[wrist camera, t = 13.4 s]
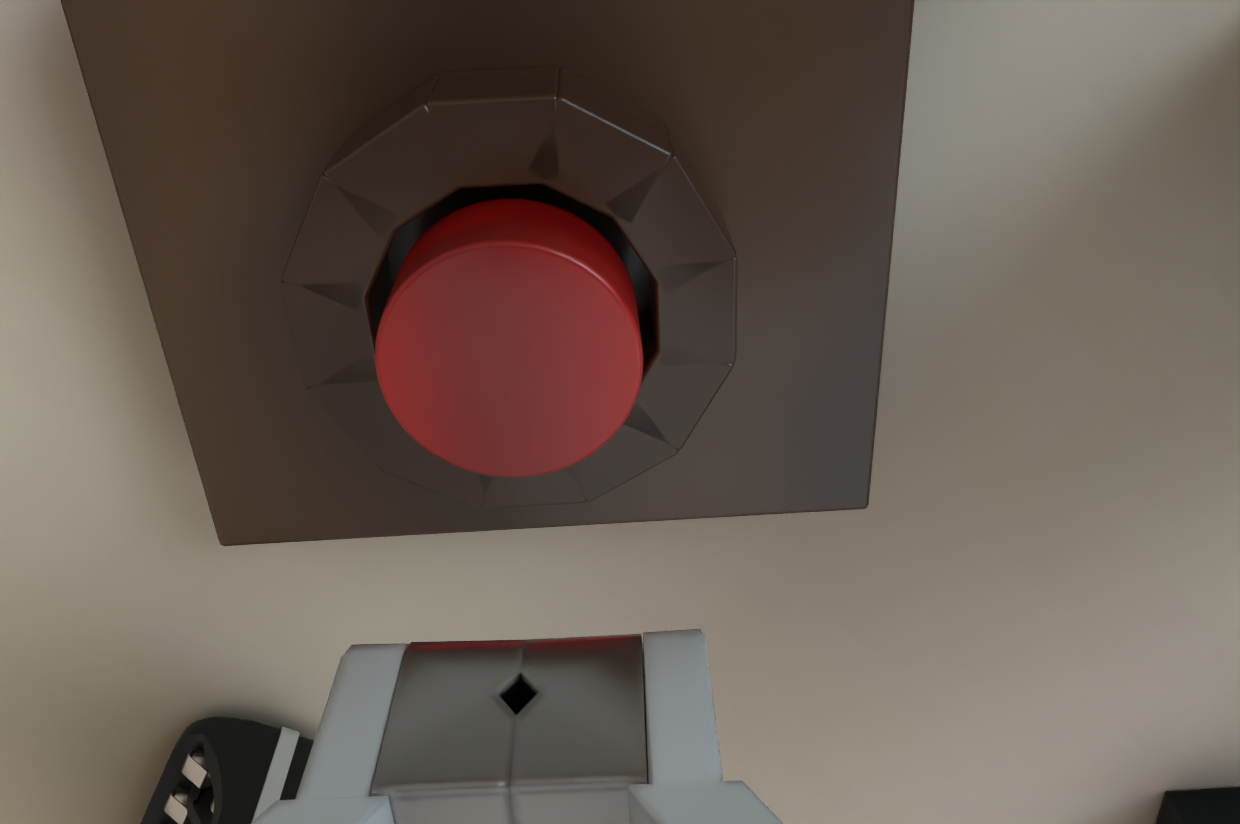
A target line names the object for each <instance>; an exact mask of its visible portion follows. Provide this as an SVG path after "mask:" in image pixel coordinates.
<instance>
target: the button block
mask: <svg viewBox="0 0 1240 824" xmlns="http://www.w3.org/2000/svg"><path fill="white" fill-rule="evenodd" d="M914 1H915V0H61V4H62V7H63V11H64V14H65V17H66V21H67V24H68V28H69V31H70V34H71V38H72V41H73V45H74V48H75V51H76V55H77V58H78V62H79V65H80V68H81V72H82V75H83V79H84V82H85V86H86V89H87V92H88V96H89V99H90V103H91V106H92V109H93V113H94V116H95V120H96V123H97V126H98V130H99V133H100V137H101V140H102V143H103V147H104V150H105V154H106V157H107V161H108V164H109V167H110V171H111V174H112V178H113V181H114V184H115V188H116V191H117V195H118V198H119V201H120V205H121V208H122V212H123V215H124V218H125V222H126V225H127V229H128V232H129V235H130V239H131V242H132V246H133V249H134V253H135V256H136V259H137V263H138V266H139V270H140V273H141V276H142V280H143V283H144V287H145V290H146V293H147V297H148V300H149V304H150V307H151V310H152V314H153V317H154V321H155V324H156V328H157V331H158V334H159V338H160V341H161V345H162V348H163V351H164V355H165V358H166V362H167V365H168V368H169V372H170V375H171V379H172V382H173V385H174V389H175V392H176V396H177V399H178V402H179V406H180V409H181V413H182V416H183V420H184V423H185V426H186V430H187V433H188V437H189V440H190V443H191V447H192V450H193V454H194V457H195V460H196V464H197V467H198V471H199V474H200V477H201V481H202V484H203V488H204V491H205V495H206V498H207V501H208V505H209V508H210V512H211V515H212V518H213V522H214V525H215V529H216V532H217V535H218V539H219V542H220V544H221V545H223V546H231V545H248V544H265V543H282V542H300V541H317V540H334V539H352V538H369V537H386V536H403V535H421V534H438V533H455V532H473V531H490V530H507V529H524V528H542V527H559V526H576V525H593V524H611V523H628V522H645V521H663V520H680V519H697V518H714V517H732V516H749V515H766V514H784V513H801V512H818V511H835V510H853V509H865V508H867V507H868V504H869V493H870V482H871V471H872V460H873V449H874V438H875V427H876V417H877V406H878V395H879V384H880V373H881V362H882V351H883V340H884V329H885V318H886V307H887V296H888V285H889V274H890V263H891V253H892V242H893V231H894V220H895V209H896V198H897V187H898V176H899V165H900V154H901V143H902V132H903V121H904V110H905V99H906V88H907V78H908V67H909V56H910V45H911V34H912V23H913V12H914ZM496 199H526V200H534V201H539V202H543V203H547V204H551V205H554V206H557V207H559V208H562V209H564V210H566V211H569V212H571V213H573V214H574V215H576V216H578V217H580V218H581V219H583V220H585V221H586V222H587V223H589V224H590V225H591V226H593V227H594V228H595V229H597V230H598V231H599V232H600V233H601V234H602V235H603V236H604V237H605V238H606V239H607V240H608V241H609V242H610V243H611V245H612V246H613V247H614V248H615V250H616V251H617V252H618V254H619V255H620V257H621V259H622V260H623V262H624V264H625V265H626V267H627V270H628V272H629V275H630V277H631V279H632V283H633V286H634V290H635V294H636V301H637V309H638V317H639V325H640V333H641V341H642V350H643V375H642V381H641V386H640V390H639V393H638V396H637V399H636V402H635V404H634V406H633V408H632V410H631V412H630V414H629V416H628V418H627V419H626V420H625V422H624V423H623V425H622V426H621V428H620V429H619V430H618V431H617V432H616V433H615V435H614V436H613V437H612V438H611V439H610V440H609V441H608V442H607V443H606V444H605V445H603V446H602V447H601V448H600V449H599V450H597V451H596V452H595V453H593V454H592V455H590V456H589V457H587V458H586V459H584V460H582V461H580V462H578V463H576V464H574V465H572V466H570V467H568V468H565V469H562V470H559V471H556V472H553V473H549V474H544V475H540V476H533V477H525V478H502V477H493V476H486V475H482V474H477V473H473V472H470V471H467V470H464V469H461V468H458V467H456V466H454V465H451V464H449V463H447V462H445V461H443V460H441V459H440V458H438V457H436V456H435V455H433V454H431V453H430V452H428V451H427V450H426V449H424V448H423V447H422V446H421V445H419V444H418V443H417V442H416V441H415V440H414V439H413V438H412V437H411V436H410V435H409V434H408V433H407V432H406V431H405V430H404V429H403V428H402V426H401V425H400V424H399V422H398V421H397V420H396V418H395V417H394V415H393V414H392V412H391V410H390V408H389V407H388V405H387V403H386V401H385V399H384V396H383V394H382V391H381V389H380V385H379V381H378V378H377V374H376V365H375V341H376V335H377V330H378V326H379V323H380V320H381V317H382V314H383V312H384V309H385V306H386V304H387V301H388V299H389V296H390V293H391V291H392V288H393V286H394V283H395V280H396V278H397V275H398V273H399V270H400V267H401V265H402V263H403V261H404V259H405V257H406V256H407V254H408V252H409V250H410V249H411V248H412V246H413V245H414V244H415V242H416V241H417V240H418V239H419V238H420V237H421V236H422V235H423V234H424V233H425V232H426V231H427V230H428V228H430V227H431V226H432V225H434V224H435V223H436V222H438V221H439V220H440V219H442V218H443V217H445V216H447V215H449V214H451V213H452V212H454V211H456V210H459V209H461V208H464V207H466V206H469V205H471V204H475V203H479V202H483V201H488V200H496Z"/></svg>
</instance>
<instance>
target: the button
mask: <svg viewBox="0 0 1240 824" xmlns="http://www.w3.org/2000/svg"><path fill="white" fill-rule="evenodd" d="M375 365H376V374H377V378H378V381H379V385H380V389H381V391H382V394H383V396H384V399H385V401H386V403H387V405H388V407H389V408H390V410H391V412H392V414H393V415H394V417H395V418H396V420H397V421H398V422H399V424H400V425H401V426H402V428H403V429H404V430H405V431H406V432H407V433H408V434H409V435H410V436H411V437H412V438H413V439H414V440H415V441H416V442H417V443H418V444H419V445H421V446H422V447H423V448H424V449H426V450H427V451H428V452H430V453H431V454H433V455H435V456H436V457H438V458H440V459H441V460H443V461H445V462H447V463H449V464H451V465H454V466H456V467H458V468H461V469H464V470H467V471H470V472H473V473H477V474H482V475H486V476H493V477H502V478H525V477H533V476H540V475H544V474H549V473H553V472H556V471H559V470H562V469H565V468H568V467H570V466H572V465H574V464H576V463H578V462H580V461H582V460H584V459H586V458H587V457H589V456H590V455H592V454H593V453H595V452H596V451H597V450H599V449H600V448H601V447H602V446H603V445H605V444H606V443H607V442H608V441H609V440H610V439H611V438H612V437H613V436H614V435H615V433H616V432H617V431H618V430H619V429H620V428H621V426H622V425H623V423H624V422H625V420H626V419H627V418H628V416H629V414H630V412H631V410H632V408H633V406H634V404H635V402H636V399H637V396H638V393H639V390H640V386H641V381H642V375H643V350H642V341H641V333H640V325H639V317H638V309H637V301H636V294H635V290H634V286H633V283H632V279H631V277H630V275H629V272H628V270H627V267H626V265H625V264H624V262H623V260H622V259H621V257H620V255H619V254H618V252H617V251H616V250H615V248H614V247H613V246H612V245H611V243H610V242H609V241H608V240H607V239H606V238H605V237H604V236H603V235H602V234H601V233H600V232H599V231H598V230H597V229H595V228H594V227H593V226H591V225H590V224H589V223H587V222H586V221H585V220H583V219H581V218H580V217H578V216H576V215H574V214H573V213H571V212H569V211H566V210H564V209H562V208H559V207H557V206H554V205H551V204H547V203H543V202H539V201H534V200H526V199H496V200H488V201H483V202H479V203H475V204H471V205H469V206H466V207H464V208H461V209H459V210H456V211H454V212H452V213H451V214H449V215H447V216H445V217H443V218H442V219H440V220H439V221H438V222H436V223H435V224H434V225H432V226H431V227H430V228H428V230H427V231H426V232H425V233H424V234H423V235H422V236H421V237H420V238H419V239H418V240H417V241H416V242H415V244H414V245H413V246H412V248H411V249H410V250H409V252H408V254H407V256H406V257H405V259H404V261H403V263H402V265H401V267H400V270H399V273H398V275H397V278H396V280H395V283H394V286H393V288H392V291H391V293H390V296H389V299H388V301H387V304H386V306H385V309H384V312H383V314H382V317H381V320H380V323H379V326H378V330H377V335H376V341H375Z"/></svg>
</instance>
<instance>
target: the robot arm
mask: <svg viewBox="0 0 1240 824" xmlns="http://www.w3.org/2000/svg"><path fill="white" fill-rule="evenodd" d="M643 662H644V668H643ZM644 683H645V686H644ZM645 704H646V706H645ZM251 824H783V823H782V822H781V821H780V820H779V819H778V817H777V816H776V815H775V814H774V813H773V812H772V811H771V810H770V809H769V808H768V807H767V806H766V805H765V804H764V803H763V802H762V801H761V800H760V799H759V798H758V797H757V796H756V795H755V794H754V793H753V792H752V791H751V790H750V788H749V787H748V786H747V785H746V784H745V783H744V782H743V781H723V776H722V768H721V760H720V751H719V743H718V735H717V727H716V719H715V711H714V703H713V695H712V687H711V678H710V670H709V662H708V654H707V646H706V638H705V635H704V634H703V632H702V631H701V629H691V630H675V631H660V632H644V633H643V650H642V635H641V634H627V635H608V636H588V637H569V638H550V639H531V640H493V641H447V642H411V643H410V644H361V645H351V646H350V648H349V649H348V650H347V651H346V652H345V654H344V655H343V656H342V657H341V660H340V663H339V666H338V669H337V672H336V675H335V678H334V681H333V684H332V687H331V690H330V693H329V697H328V700H327V703H326V706H325V709H324V712H323V715H322V718H321V721H320V724H319V727H318V730H317V734H316V737H315V740H314V743H313V746H312V749H311V752H310V755H309V758H308V761H307V764H306V767H305V771H304V774H303V777H302V780H301V783H300V786H299V789H298V792H297V795H296V798H295V799H293V800H277V801H275V802H274V803H273V804H272V805H271V806H270V807H269V808H267V809H266V810H265V811H264V812H263V813H262V814H261V815H260V816H259V817H257V818H256V819H255V820H254V821H253V822H252V823H251Z"/></svg>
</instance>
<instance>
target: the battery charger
mask: <svg viewBox="0 0 1240 824" xmlns="http://www.w3.org/2000/svg"><path fill="white" fill-rule="evenodd" d="M313 743H314V741H313V740H310V739H307V738H304V737H301V736H299V732H298V731H295V730H292V729H289V728H286V727H282V728H281V730H279V729H276V728H273V727H270V726H267V725H263V724H260V723H257V722H254V721H247V720H241V719H236V718H226V717H211V718H206V719H202V720H199V721H196V722H194V723H192V724H191V725H190V726H189V727H187V729H186V730H185V731H184V732H183V734H182V735H181V737H180V738H179V740H178V741H177V743H176V745H175V747H174V749H173V751H172V753H171V755H170V758H169V760H168V762H167V764H166V767H165V769H164V771H163V773H162V776H161V778H160V780H159V782H158V785H157V787H156V789H155V792H154V794H153V796H152V799H151V801H150V803H149V805H148V807H147V810H146V812H145V814H144V817H143V819H142V821H141V823H140V824H251V823H252V822H253V821H254V820H255V819H256V818H257V817H259V816H260V815H261V814H262V813H263V812H264V811H265V810H266V809H267V808H269V807H270V806H271V805H272V804H273V803H274V802H275V801H277V800H293V799H295V798H296V795H297V792H298V789H299V786H300V783H301V780H302V777H303V774H304V771H305V767H306V764H307V761H308V758H309V755H310V752H311V749H312V746H313Z"/></svg>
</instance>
